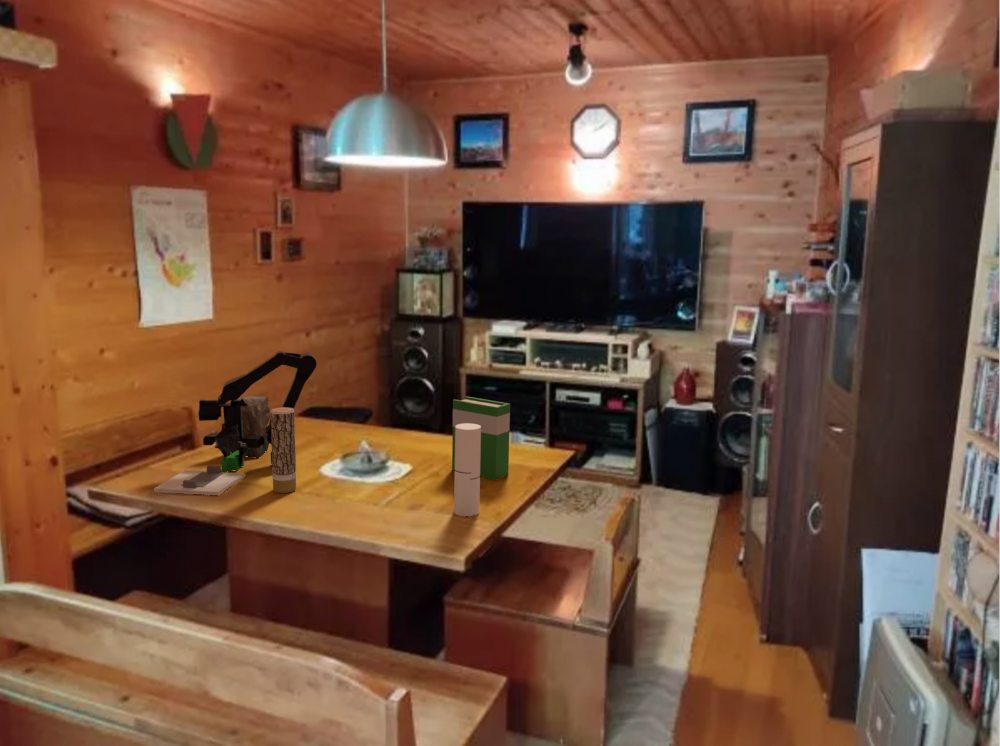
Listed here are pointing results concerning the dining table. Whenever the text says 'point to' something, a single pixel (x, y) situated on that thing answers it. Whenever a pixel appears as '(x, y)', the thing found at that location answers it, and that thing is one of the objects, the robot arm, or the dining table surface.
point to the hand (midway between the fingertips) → (234, 465)
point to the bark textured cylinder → (283, 449)
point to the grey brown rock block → (255, 423)
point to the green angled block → (231, 462)
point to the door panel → (200, 482)
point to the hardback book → (486, 433)
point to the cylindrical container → (467, 469)
